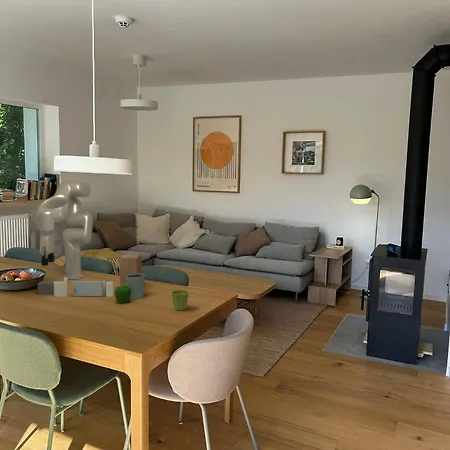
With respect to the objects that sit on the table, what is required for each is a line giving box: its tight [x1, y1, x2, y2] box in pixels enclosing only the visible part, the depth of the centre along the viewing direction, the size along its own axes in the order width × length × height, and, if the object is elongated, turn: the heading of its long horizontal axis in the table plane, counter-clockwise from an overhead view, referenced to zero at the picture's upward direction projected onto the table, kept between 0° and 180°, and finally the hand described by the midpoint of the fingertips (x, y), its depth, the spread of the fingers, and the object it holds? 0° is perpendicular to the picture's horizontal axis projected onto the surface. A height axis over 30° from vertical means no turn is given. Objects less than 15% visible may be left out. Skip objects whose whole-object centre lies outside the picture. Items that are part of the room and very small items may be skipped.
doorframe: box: [53, 278, 115, 298], centre depth 243 cm, size 2×32×10 cm, turn 91°
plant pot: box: [170, 289, 190, 312], centre depth 224 cm, size 9×9×9 cm
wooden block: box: [119, 253, 143, 287], centre depth 257 cm, size 10×10×20 cm
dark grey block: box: [37, 279, 62, 296], centre depth 249 cm, size 7×10×6 cm
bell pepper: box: [114, 284, 131, 304], centre depth 234 cm, size 8×8×10 cm
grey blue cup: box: [126, 273, 146, 300], centre depth 244 cm, size 10×10×12 cm
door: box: [71, 280, 103, 297], centre depth 243 cm, size 16×2×8 cm, turn 91°
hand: (48, 263), depth 247 cm, fingers open, 9 cm apart
